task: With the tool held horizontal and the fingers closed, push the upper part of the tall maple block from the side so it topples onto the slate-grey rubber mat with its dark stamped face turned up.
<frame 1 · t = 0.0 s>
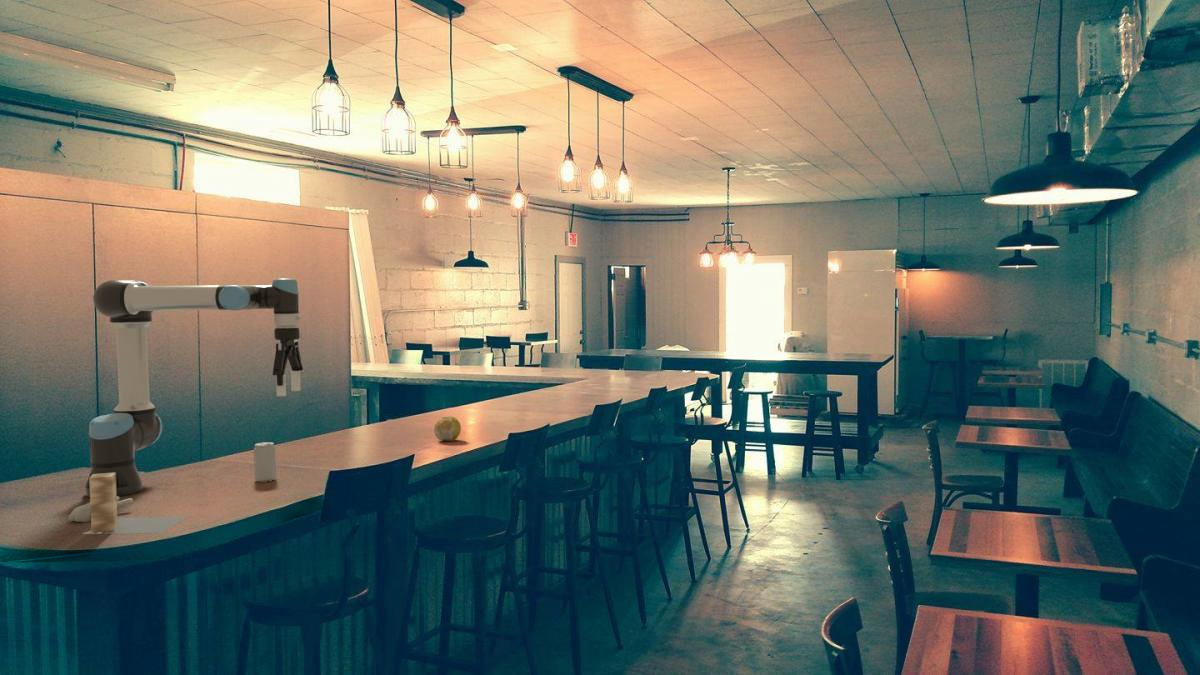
hand: (288, 393, 270), 28 cm above the bar counter, tool pointing down, fingers open, 13 cm apart
beverage can: (265, 481, 271), on the bar counter
maple block: (104, 529, 215), resting on rubber mat
rubber mat: (136, 526, 218), on the bar counter
bunny figurine: (100, 518, 228), on the bar counter
fruit: (447, 441, 339), on the bar counter
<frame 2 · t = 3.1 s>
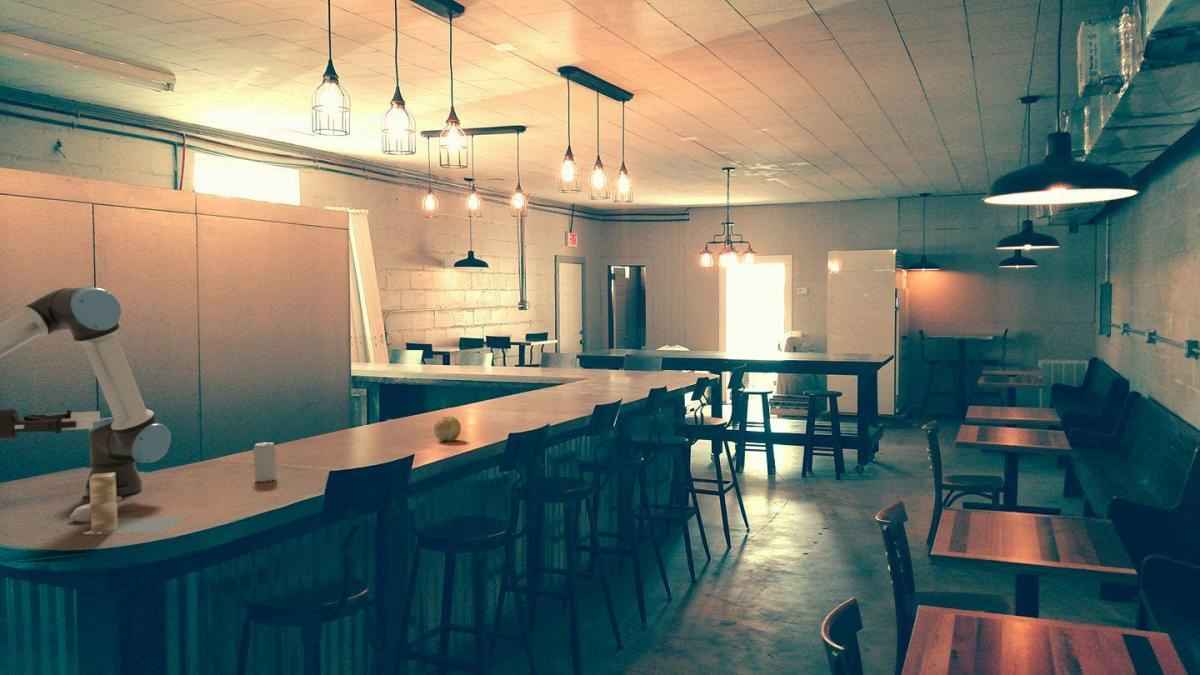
hand: (96, 419, 218), 28 cm above the bar counter, tool horizontal, fingers open, 13 cm apart
nothing on the bar counter moved.
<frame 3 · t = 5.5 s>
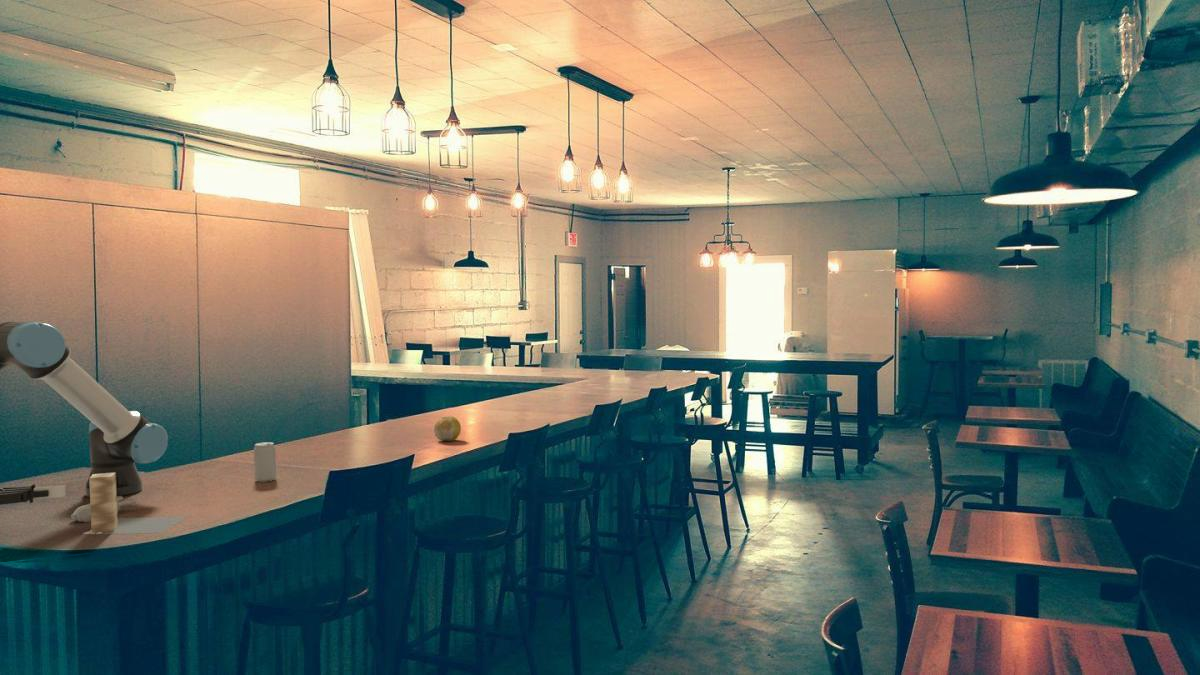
hand: (64, 491, 211), 11 cm above the bar counter, tool horizontal, fingers closed
nothing on the bar counter moved.
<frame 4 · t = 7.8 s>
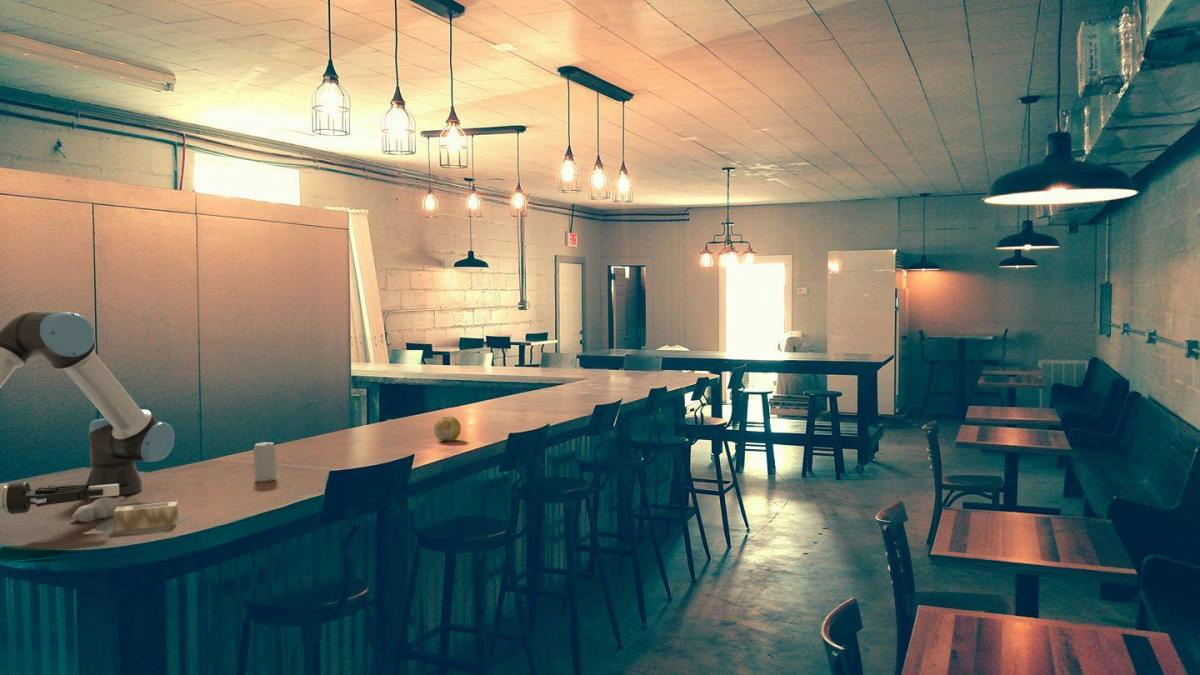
hand: (118, 489, 215), 10 cm above the bar counter, tool horizontal, fingers closed
maple block: (116, 518, 215), point 3 cm above the bar counter, tilted 90°, touching rubber mat
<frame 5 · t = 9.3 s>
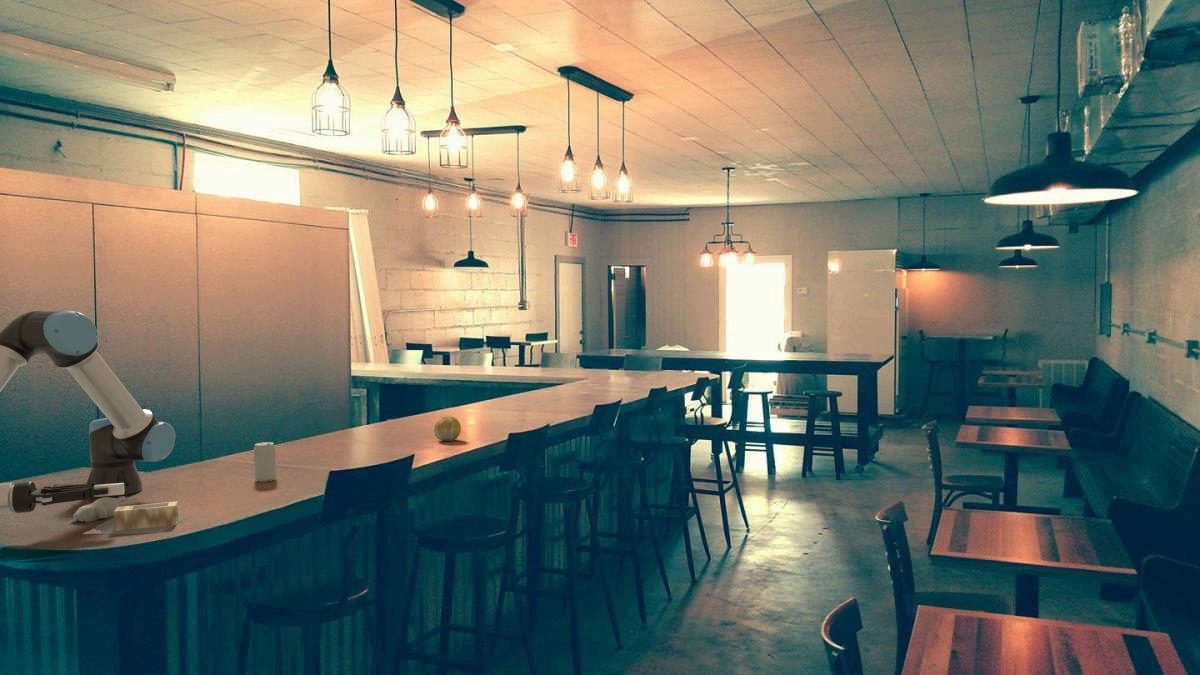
hand: (123, 488, 216), 11 cm above the bar counter, tool horizontal, fingers closed
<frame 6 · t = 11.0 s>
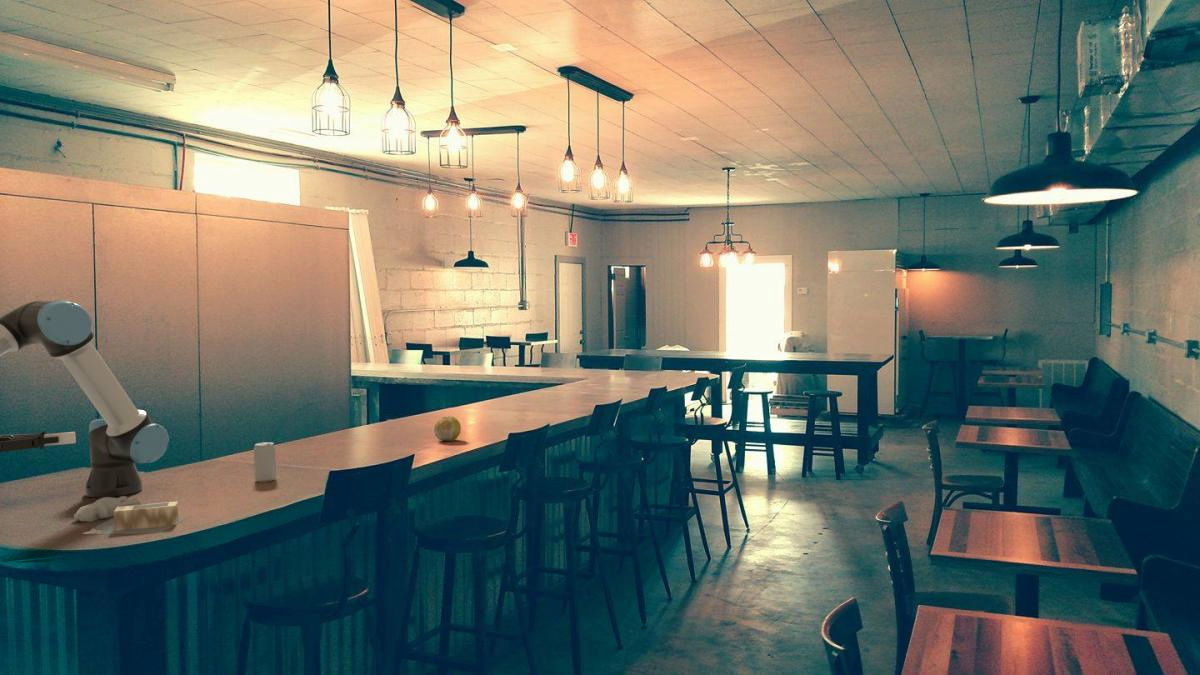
hand: (74, 437, 213), 24 cm above the bar counter, tool horizontal, fingers closed
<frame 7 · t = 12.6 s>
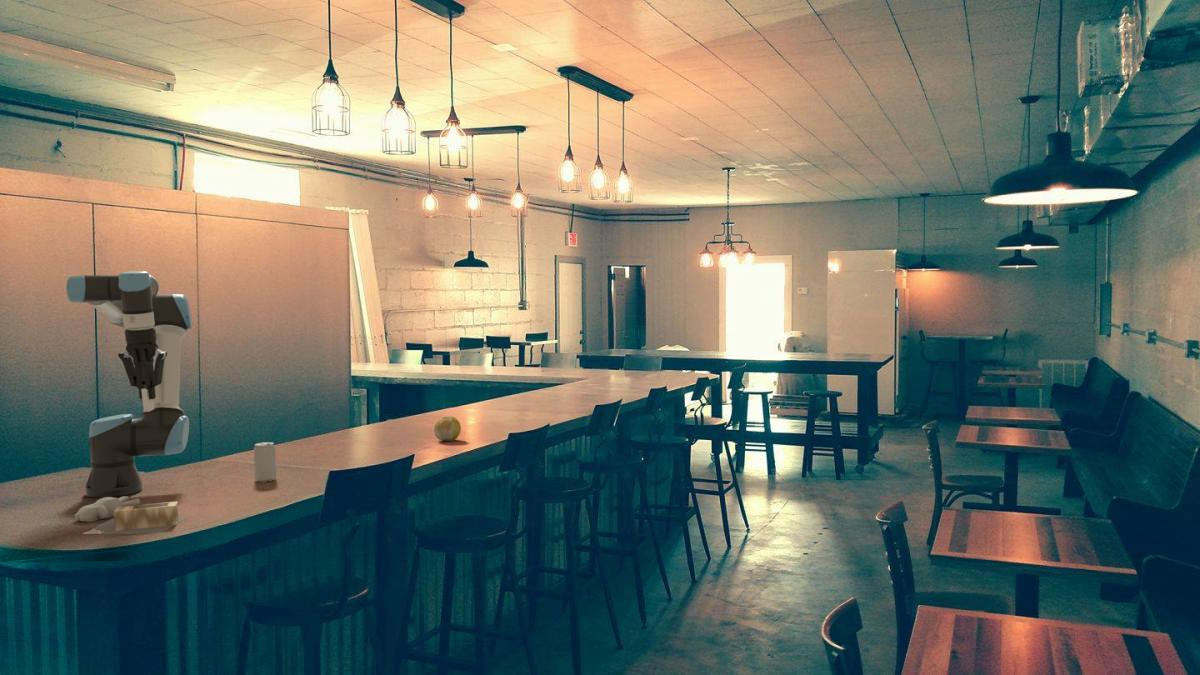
hand: (149, 410, 237), 28 cm above the bar counter, tool pointing down, fingers closed
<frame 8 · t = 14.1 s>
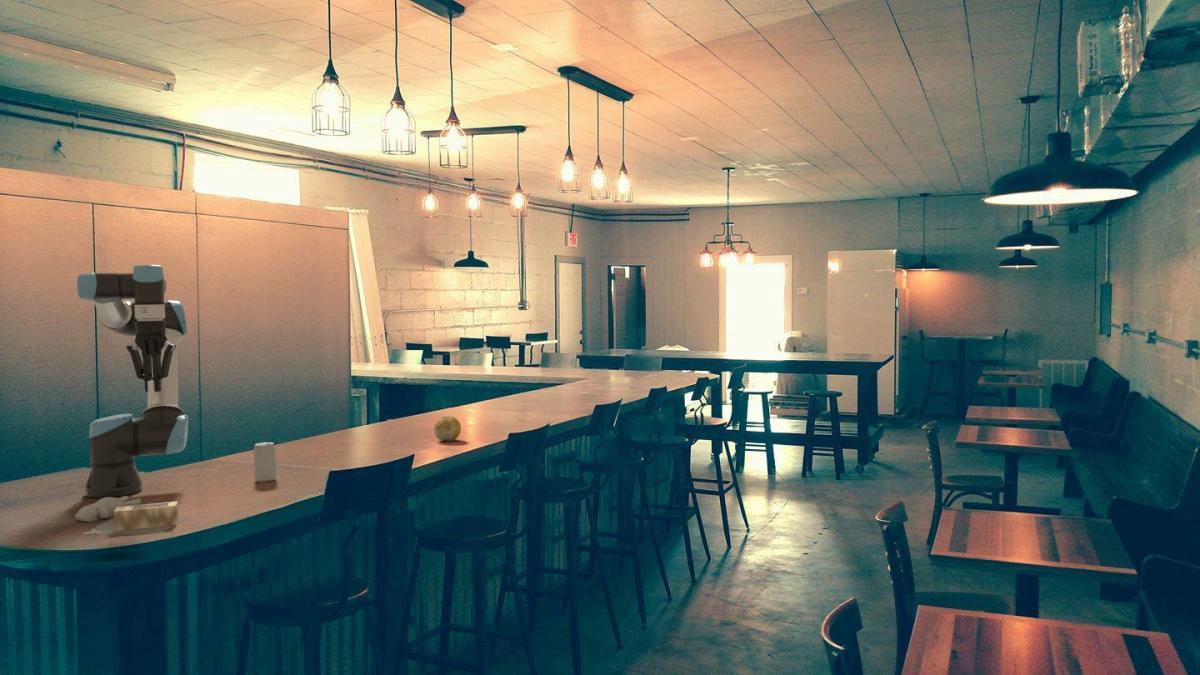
hand: (153, 403, 238), 29 cm above the bar counter, tool pointing down, fingers closed
at the end: maple block tilted 90°; maple block inside the target area (6.5 cm from its centre), point 2.9 cm above the bar counter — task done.
